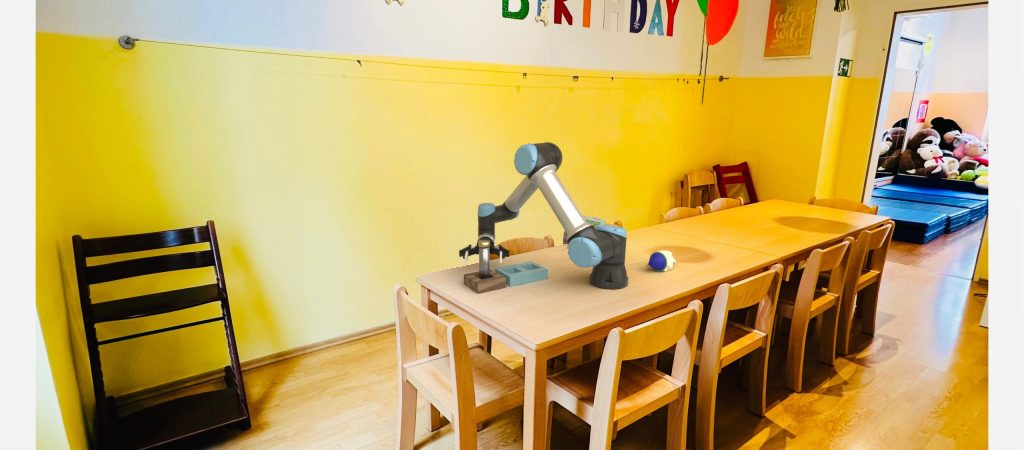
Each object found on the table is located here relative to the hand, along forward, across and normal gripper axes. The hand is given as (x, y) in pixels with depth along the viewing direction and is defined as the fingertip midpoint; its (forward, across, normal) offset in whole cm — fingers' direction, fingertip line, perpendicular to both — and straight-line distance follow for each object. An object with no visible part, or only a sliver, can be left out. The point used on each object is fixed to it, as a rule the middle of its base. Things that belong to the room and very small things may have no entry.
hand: (483, 259), depth 193 cm
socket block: (+2, 0, -10) cm, 10 cm away
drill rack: (-6, -15, -10) cm, 19 cm away
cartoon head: (-17, -75, -10) cm, 78 cm away
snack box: (-53, -48, -10) cm, 72 cm away
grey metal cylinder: (+2, 0, -10) cm, 10 cm away
